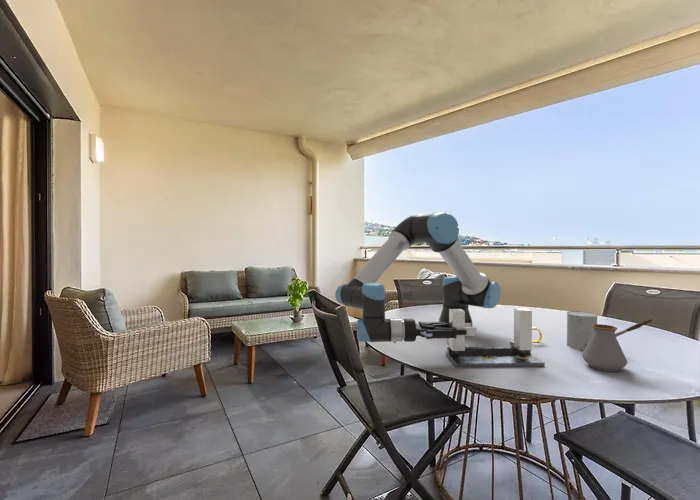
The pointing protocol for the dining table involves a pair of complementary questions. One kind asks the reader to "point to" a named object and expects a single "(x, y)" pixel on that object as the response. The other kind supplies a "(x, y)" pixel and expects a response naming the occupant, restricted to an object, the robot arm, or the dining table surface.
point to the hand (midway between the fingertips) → (472, 329)
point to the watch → (540, 335)
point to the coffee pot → (607, 348)
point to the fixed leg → (522, 330)
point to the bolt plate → (493, 357)
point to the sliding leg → (454, 321)
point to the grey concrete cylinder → (580, 328)
